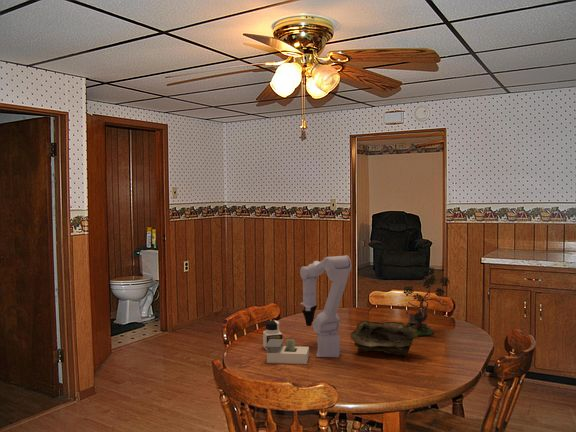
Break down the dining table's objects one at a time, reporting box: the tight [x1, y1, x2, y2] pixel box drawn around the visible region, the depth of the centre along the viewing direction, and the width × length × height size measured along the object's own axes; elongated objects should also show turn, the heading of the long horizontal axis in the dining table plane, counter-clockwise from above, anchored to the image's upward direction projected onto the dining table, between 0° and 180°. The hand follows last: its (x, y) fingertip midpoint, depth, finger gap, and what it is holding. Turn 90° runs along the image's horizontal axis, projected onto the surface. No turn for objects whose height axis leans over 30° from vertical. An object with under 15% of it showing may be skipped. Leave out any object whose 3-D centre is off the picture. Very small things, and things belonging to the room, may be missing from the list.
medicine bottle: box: [262, 319, 284, 352], centre depth 223 cm, size 7×7×12 cm
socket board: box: [264, 338, 310, 365], centre depth 207 cm, size 16×11×7 cm, turn 82°
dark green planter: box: [350, 320, 419, 357], centre depth 214 cm, size 28×13×15 cm
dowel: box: [285, 338, 296, 352], centre depth 207 cm, size 4×4×8 cm
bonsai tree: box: [403, 266, 451, 337], centre depth 248 cm, size 35×24×32 cm
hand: (309, 323), depth 226 cm, fingers open, 7 cm apart
